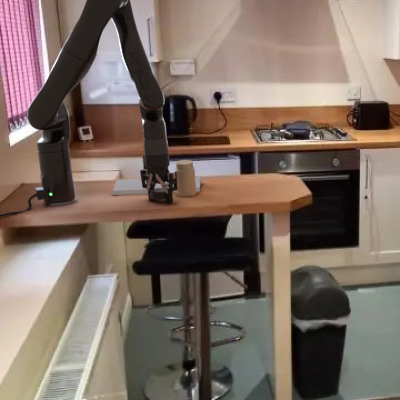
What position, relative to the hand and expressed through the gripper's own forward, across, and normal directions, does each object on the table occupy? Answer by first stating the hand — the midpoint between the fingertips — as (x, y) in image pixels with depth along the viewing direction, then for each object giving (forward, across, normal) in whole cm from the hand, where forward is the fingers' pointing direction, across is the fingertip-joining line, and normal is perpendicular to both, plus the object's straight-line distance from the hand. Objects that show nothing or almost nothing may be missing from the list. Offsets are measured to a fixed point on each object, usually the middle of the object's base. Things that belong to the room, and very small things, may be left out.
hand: (161, 202), depth 192 cm
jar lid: (-4, 0, +1) cm, 4 cm away
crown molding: (0, -13, +12) cm, 18 cm away
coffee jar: (0, 0, +12) cm, 12 cm away
